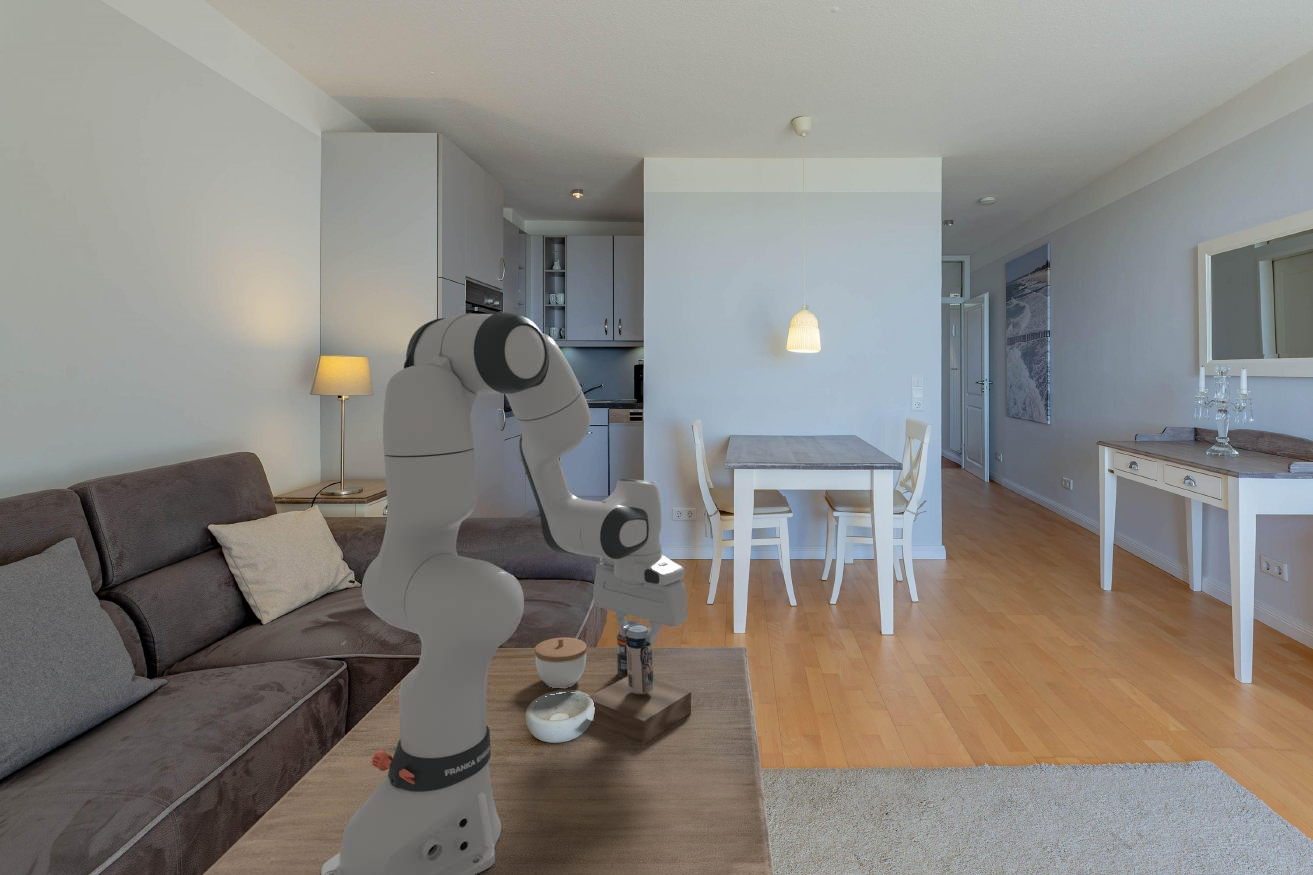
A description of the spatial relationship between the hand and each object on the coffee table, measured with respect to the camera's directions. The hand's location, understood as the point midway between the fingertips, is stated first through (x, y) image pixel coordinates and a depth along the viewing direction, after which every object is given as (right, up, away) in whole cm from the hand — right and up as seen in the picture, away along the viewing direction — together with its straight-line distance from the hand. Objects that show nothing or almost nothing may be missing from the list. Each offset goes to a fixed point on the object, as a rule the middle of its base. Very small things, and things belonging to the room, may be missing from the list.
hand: (638, 638), depth 121 cm
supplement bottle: (-2, -14, +19) cm, 24 cm away
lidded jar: (-17, -14, +15) cm, 27 cm away
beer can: (0, -10, +1) cm, 10 cm away
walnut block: (0, -15, +1) cm, 15 cm away
